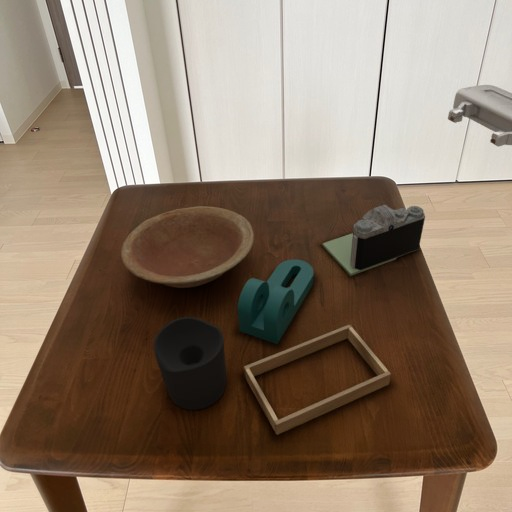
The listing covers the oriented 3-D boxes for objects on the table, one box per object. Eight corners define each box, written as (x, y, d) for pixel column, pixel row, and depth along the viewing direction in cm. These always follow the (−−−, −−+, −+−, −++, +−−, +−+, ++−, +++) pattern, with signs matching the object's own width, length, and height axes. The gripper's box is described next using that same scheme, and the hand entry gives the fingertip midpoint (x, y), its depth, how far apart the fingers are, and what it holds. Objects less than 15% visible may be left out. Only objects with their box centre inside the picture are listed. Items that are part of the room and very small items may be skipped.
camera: (400, 230, 101) (408, 186, 94) (423, 249, 96) (432, 204, 89) (336, 252, 96) (339, 208, 90) (356, 273, 91) (361, 228, 85)
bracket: (277, 344, 80) (276, 309, 75) (239, 331, 83) (236, 296, 78) (318, 274, 93) (320, 240, 88) (284, 265, 95) (284, 231, 90)
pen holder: (219, 353, 80) (212, 308, 73) (237, 401, 73) (231, 356, 66) (160, 371, 77) (148, 326, 71) (172, 422, 71) (160, 378, 64)
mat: (396, 259, 95) (396, 256, 94) (350, 276, 92) (350, 273, 92) (365, 231, 102) (365, 228, 102) (322, 245, 99) (322, 243, 99)
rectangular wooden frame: (389, 384, 74) (391, 373, 72) (276, 435, 68) (276, 425, 67) (348, 334, 81) (349, 324, 80) (244, 376, 76) (243, 366, 74)
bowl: (257, 230, 104) (255, 198, 99) (253, 316, 85) (250, 281, 80) (143, 233, 105) (135, 200, 100) (115, 317, 87) (104, 282, 82)
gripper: (494, 70, 90) (431, 86, 86) (599, 113, 75) (528, 134, 71) (486, 105, 94) (425, 121, 90) (583, 151, 79) (516, 174, 75)
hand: (472, 127), depth 80 cm, fingers open, 8 cm apart
